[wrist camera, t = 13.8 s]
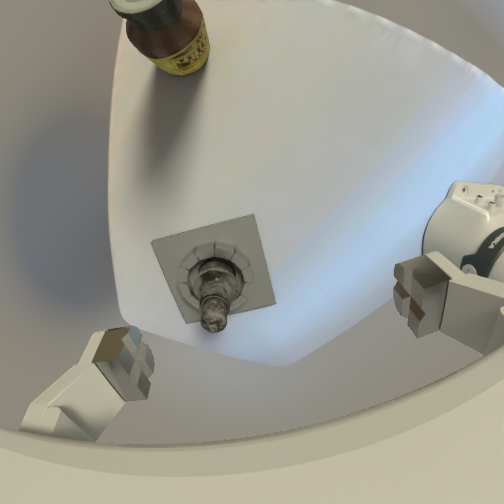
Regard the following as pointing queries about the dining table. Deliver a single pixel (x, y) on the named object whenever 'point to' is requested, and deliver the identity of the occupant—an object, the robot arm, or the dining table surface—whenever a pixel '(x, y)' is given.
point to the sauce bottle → (167, 32)
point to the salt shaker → (215, 292)
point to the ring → (222, 252)
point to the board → (229, 232)
